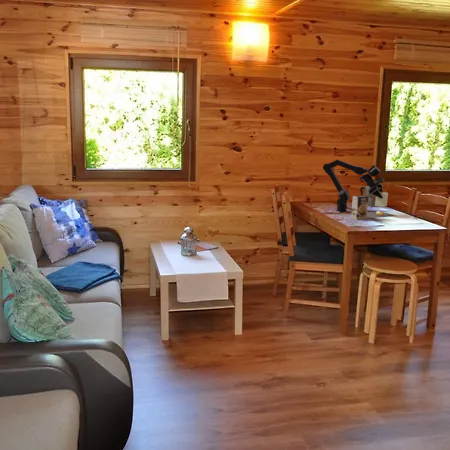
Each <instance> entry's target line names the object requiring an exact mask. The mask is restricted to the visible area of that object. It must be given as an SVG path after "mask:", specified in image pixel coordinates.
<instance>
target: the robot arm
mask: <svg viewBox="0 0 450 450" xmlns="http://www.w3.org/2000/svg"><path fill="white" fill-rule="evenodd" d="M338 166H339V167H341V168H344V169H346V170H350V171H352V172H353V173H355V174H356V175H358V176H359V181H364V183H365V184H366V187H367V186H369V187H370V188H371V189H370V190H369V193H370V194H371V193H372V192H373V193H372V194H373V195H374V197H376V196H377V197H379V198H381V199H382V198H383V197H382V195H381V194H380V192H384V191H383V187H384V184H383V183H385V178H384V177H379V178H378V179H377V180H376V179H374V177H377V175H379V174H380V173H381V170H380V168H379V167H378V166H376V165H375V164H373V165H372V166H371V167H370V168H369V169H368V168H366V167H364V166H361V165H354V164H352V163H349V162H346V161H343V160H341V159H335V160H334V161H331V162H329V163H328V162H327V163H324V164H323V166H322V169H323V171H324V172H325V174H327V175H328V176H329V179H331V181H332V183H333V184H334V187H335V189H336V190H337V192H338V196H339V198H338V199H337V200H336V203H337V206H336V209H335V211H336V212H339V213H345V212H346V213H347V212H348V210H347V208H348V204H347V203H348V202H349V201H350V199H351V194H350V193H349V190H348V189H347V190H345V188H344V187H343V185H342V183H341V182H340V180H339V178H338V176H337V174H336V172H335V167H338Z"/></svg>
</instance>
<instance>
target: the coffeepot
mask: <svg viewBox="0 0 450 450" xmlns="http://www.w3.org/2000/svg"><path fill="white" fill-rule="evenodd" d="M370 189H371V188H370V187H369V186H367V185H366V186H361V187H360V188H359V191H360V196H362V195H363V196H368V206H371V207H370V208H373V207H372V206H374V207H375V195H373V194H372V193H373V192H372V193H371V194H370V193H369V190H370ZM363 190H364V193H363Z"/></svg>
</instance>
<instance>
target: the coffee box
mask: <svg viewBox="0 0 450 450" xmlns="http://www.w3.org/2000/svg"><path fill="white" fill-rule="evenodd" d="M351 202H352V203H351V215H350V219H352V220H355V221H358V220H360V221H361V220H366V219H367V218H368V217H367V212H368V196H365V195H364V194H363V195H362V196H361V195H352V201H351Z"/></svg>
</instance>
